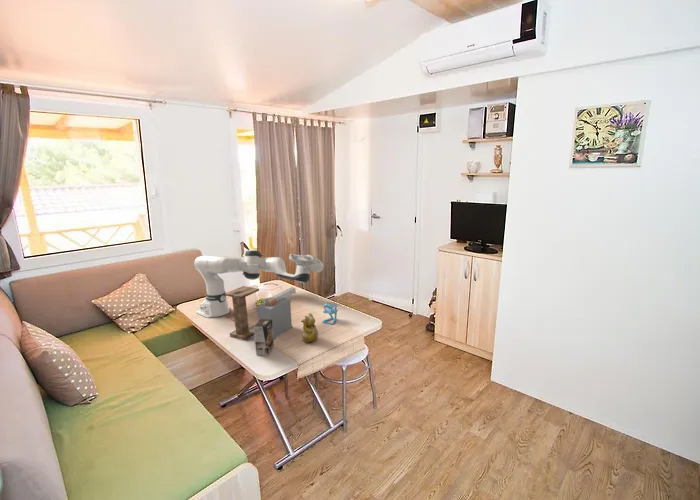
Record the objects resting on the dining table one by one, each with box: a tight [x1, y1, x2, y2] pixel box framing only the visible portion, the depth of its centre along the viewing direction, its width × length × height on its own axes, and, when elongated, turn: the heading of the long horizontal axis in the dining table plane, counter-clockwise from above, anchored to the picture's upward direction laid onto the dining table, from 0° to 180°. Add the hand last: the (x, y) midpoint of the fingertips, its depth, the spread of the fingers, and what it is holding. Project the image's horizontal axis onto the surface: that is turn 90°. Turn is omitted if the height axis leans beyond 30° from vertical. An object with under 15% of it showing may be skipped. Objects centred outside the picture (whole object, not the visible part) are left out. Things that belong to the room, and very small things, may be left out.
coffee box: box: [253, 319, 275, 356], centre depth 183 cm, size 9×6×16 cm
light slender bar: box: [264, 287, 297, 306], centre depth 208 cm, size 4×24×3 cm, turn 152°
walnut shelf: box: [225, 285, 260, 342], centre depth 202 cm, size 12×14×26 cm
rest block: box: [256, 297, 293, 339], centre depth 205 cm, size 10×17×18 cm, turn 152°
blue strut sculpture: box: [321, 302, 339, 326], centre depth 217 cm, size 8×8×12 cm
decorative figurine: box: [300, 312, 319, 344], centre depth 193 cm, size 10×8×15 cm
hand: (297, 255), depth 226 cm, fingers open, 8 cm apart
